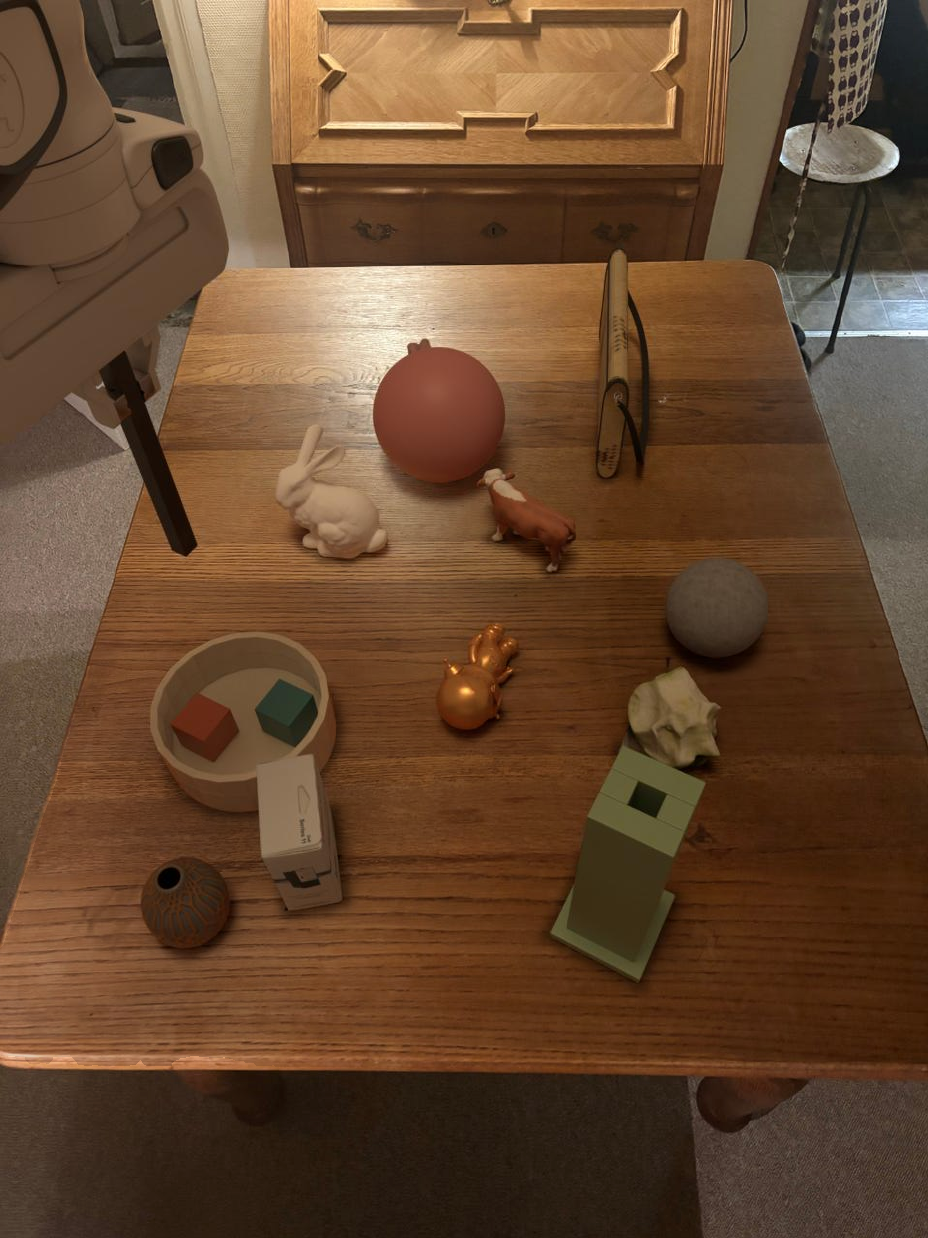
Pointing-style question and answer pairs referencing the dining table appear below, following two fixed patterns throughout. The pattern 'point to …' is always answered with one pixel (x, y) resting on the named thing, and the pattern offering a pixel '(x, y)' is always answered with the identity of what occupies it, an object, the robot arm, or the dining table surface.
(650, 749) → the cream irregular lump
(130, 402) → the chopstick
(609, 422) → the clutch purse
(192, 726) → the terracotta block
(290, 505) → the rabbit
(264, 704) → the teal block
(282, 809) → the ink box
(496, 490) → the bull figurine
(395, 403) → the balloon
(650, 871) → the stick stand
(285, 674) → the bowl
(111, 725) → the dining table surface
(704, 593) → the decorative ball
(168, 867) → the vase
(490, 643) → the figurine
